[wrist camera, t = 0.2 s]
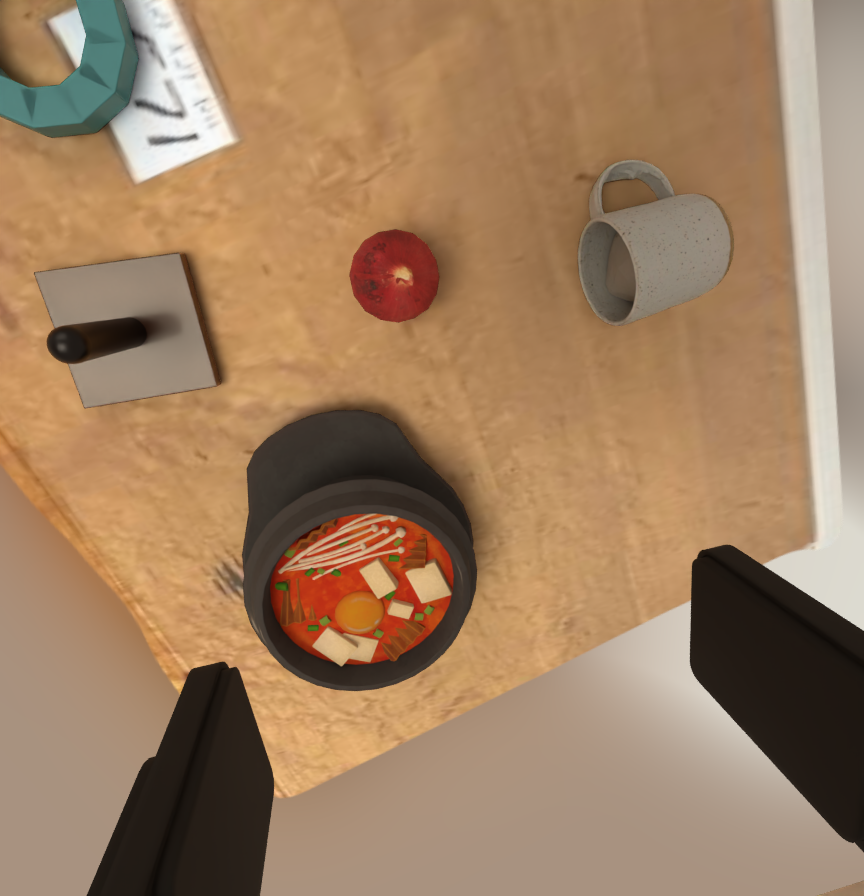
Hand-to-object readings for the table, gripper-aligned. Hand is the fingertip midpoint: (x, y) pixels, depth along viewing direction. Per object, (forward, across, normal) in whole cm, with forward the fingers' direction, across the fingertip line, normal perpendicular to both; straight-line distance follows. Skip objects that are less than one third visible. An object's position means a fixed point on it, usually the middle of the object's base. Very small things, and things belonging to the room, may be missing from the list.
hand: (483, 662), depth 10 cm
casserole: (+31, +4, +13) cm, 34 cm away
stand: (+31, +16, -7) cm, 35 cm away
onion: (+31, -2, -8) cm, 32 cm away
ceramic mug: (+31, -20, -8) cm, 38 cm away
